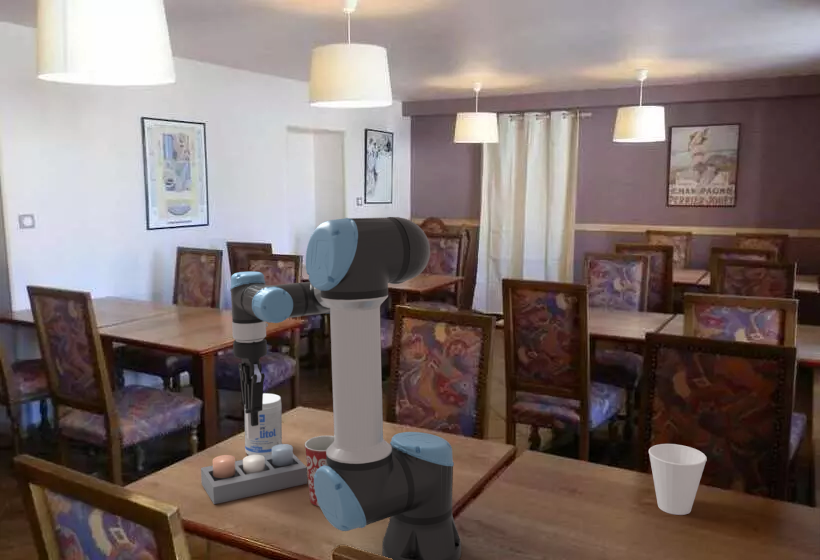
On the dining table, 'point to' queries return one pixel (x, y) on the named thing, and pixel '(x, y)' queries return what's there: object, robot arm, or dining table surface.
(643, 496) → the dining table surface
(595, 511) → the dining table surface
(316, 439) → the mug
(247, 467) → the white domed button
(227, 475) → the peach round dome
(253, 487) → the grey compartment tray
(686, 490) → the cup
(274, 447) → the pale blue dome
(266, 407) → the supplement tub
